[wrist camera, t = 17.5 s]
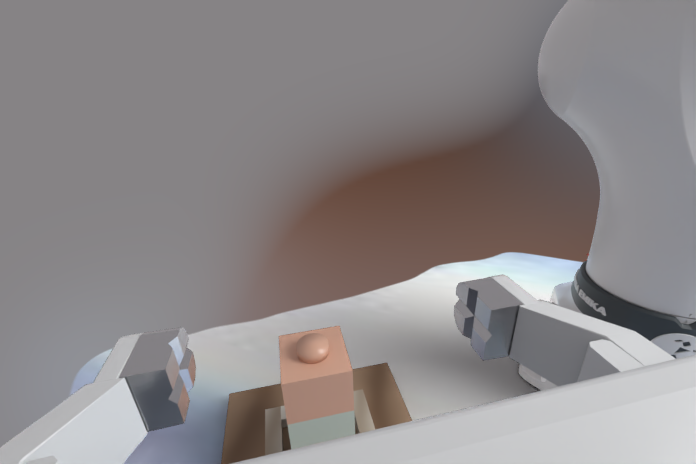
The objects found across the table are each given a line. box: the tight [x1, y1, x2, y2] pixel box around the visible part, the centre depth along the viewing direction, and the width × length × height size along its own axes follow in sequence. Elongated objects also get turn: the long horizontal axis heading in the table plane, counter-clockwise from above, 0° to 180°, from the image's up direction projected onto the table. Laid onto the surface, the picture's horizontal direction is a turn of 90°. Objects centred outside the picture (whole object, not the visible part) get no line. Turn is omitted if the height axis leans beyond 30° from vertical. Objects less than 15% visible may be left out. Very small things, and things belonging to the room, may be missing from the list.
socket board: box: [221, 363, 412, 464], centre depth 31 cm, size 18×18×3 cm
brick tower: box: [279, 326, 355, 449], centre depth 28 cm, size 5×5×13 cm
